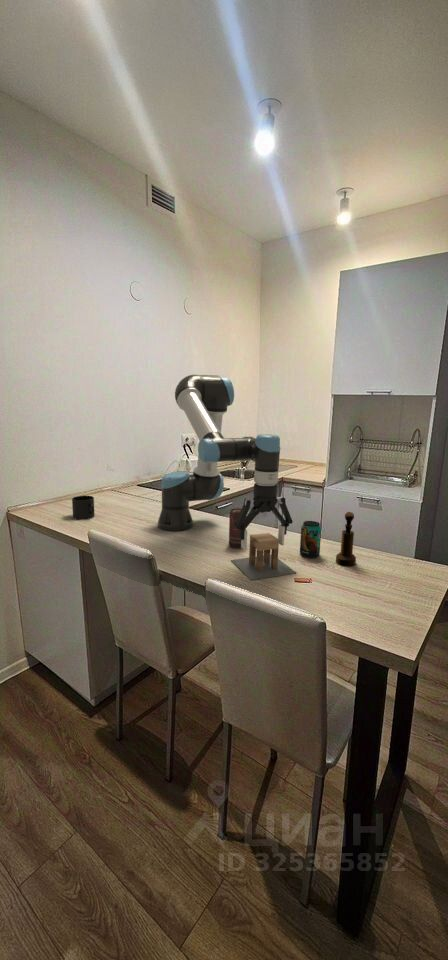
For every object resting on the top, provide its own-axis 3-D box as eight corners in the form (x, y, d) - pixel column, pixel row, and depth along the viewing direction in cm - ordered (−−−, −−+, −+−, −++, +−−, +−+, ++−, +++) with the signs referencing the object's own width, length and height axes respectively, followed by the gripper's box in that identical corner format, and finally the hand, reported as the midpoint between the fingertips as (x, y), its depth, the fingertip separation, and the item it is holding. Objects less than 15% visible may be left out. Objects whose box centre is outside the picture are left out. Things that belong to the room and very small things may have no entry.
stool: (249, 563, 133) (250, 534, 131) (267, 560, 135) (268, 532, 133) (258, 571, 126) (259, 541, 125) (277, 568, 129) (278, 539, 127)
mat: (230, 561, 135) (230, 559, 135) (272, 555, 141) (272, 554, 141) (250, 580, 121) (251, 579, 121) (296, 573, 127) (296, 572, 126)
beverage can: (295, 555, 142) (297, 523, 140) (306, 550, 147) (308, 519, 145) (313, 560, 137) (315, 527, 135) (323, 555, 142) (325, 523, 140)
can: (244, 549, 147) (245, 512, 144) (227, 547, 148) (228, 511, 145) (246, 543, 152) (247, 508, 150) (230, 542, 154) (231, 507, 151)
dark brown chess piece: (341, 557, 141) (345, 508, 137) (359, 562, 136) (363, 512, 133) (332, 562, 136) (336, 512, 133) (349, 568, 131) (354, 516, 128)
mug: (85, 522, 175) (84, 502, 173) (68, 517, 182) (67, 498, 180) (102, 517, 183) (101, 498, 181) (86, 512, 189) (85, 494, 188)
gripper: (234, 488, 118) (232, 555, 122) (305, 483, 127) (301, 546, 131) (225, 483, 124) (223, 546, 129) (293, 479, 133) (289, 538, 138)
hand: (262, 546), depth 130 cm, fingers open, 13 cm apart
